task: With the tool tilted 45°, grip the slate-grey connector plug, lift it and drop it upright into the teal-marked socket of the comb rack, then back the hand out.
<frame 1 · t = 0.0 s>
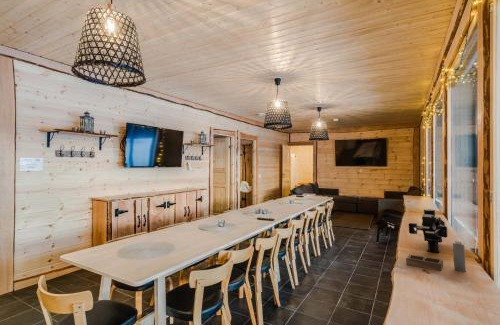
hand: (424, 232, 151), 16 cm above the table, tool horizontal, fingers open, 9 cm apart
comb rack: (424, 265, 146), on the table
slate plug: (459, 270, 138), on the table
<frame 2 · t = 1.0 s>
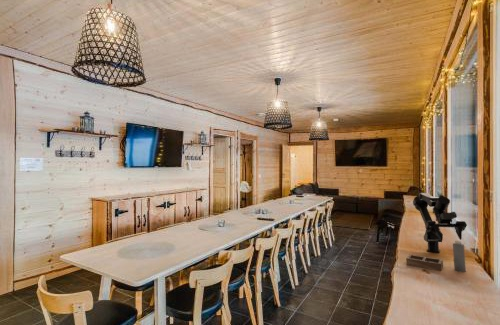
hand: (451, 239, 146), 14 cm above the table, tool tilted 45°, fingers open, 9 cm apart
nothing on the table moved.
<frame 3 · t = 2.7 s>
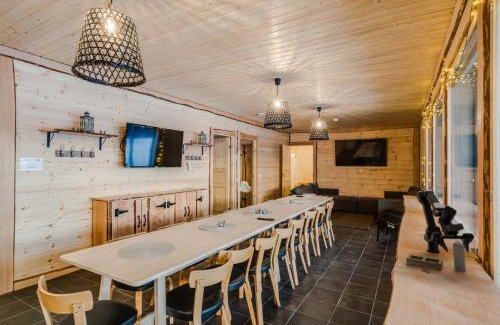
hand: (457, 252, 139), 9 cm above the table, tool tilted 45°, fingers open, 9 cm apart
nothing on the table moved.
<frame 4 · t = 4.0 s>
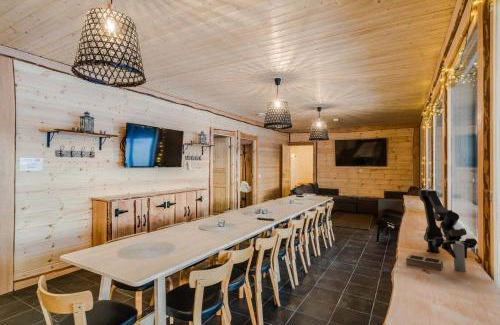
hand: (460, 257, 137), 7 cm above the table, tool tilted 45°, fingers closed on slate plug, 5 cm apart
slate plug: (460, 270, 138), on the table, touching gripper
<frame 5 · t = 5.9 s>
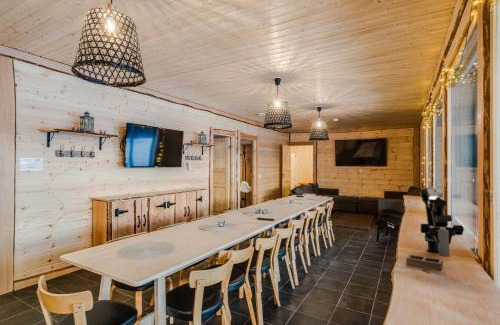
hand: (444, 243, 140), 13 cm above the table, tool tilted 45°, fingers closed on slate plug, 5 cm apart
slate plug: (444, 255, 141), point 7 cm above the table, touching gripper
when the fingers open (8 cm above the table, at t = 7.8 s): slate plug drops 2 cm, resting on comb rack.
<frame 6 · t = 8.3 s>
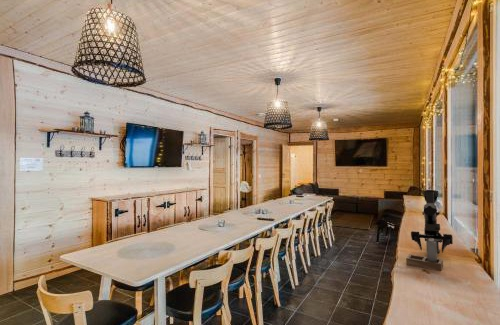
hand: (431, 251, 143), 9 cm above the table, tool tilted 45°, fingers open, 9 cm apart
slate plug: (432, 266, 144), resting on comb rack
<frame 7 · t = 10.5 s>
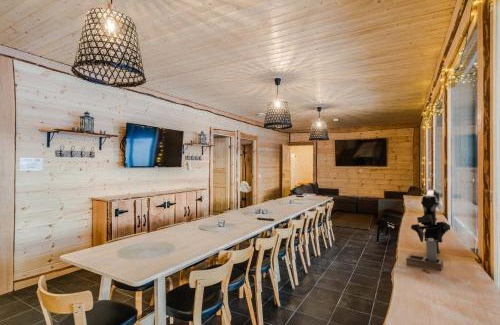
hand: (429, 241, 151), 11 cm above the table, tool tilted 35°, fingers open, 9 cm apart
nothing on the table moved.
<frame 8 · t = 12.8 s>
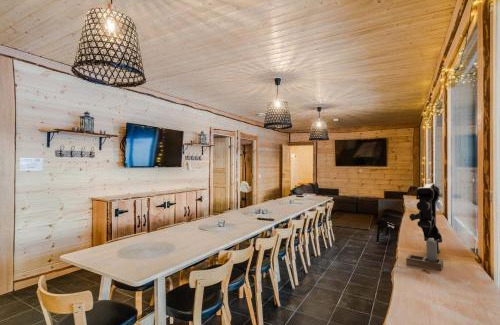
hand: (427, 236, 157), 13 cm above the table, tool pointing down, fingers open, 9 cm apart
nothing on the table moved.
at the end: slate plug 0.0 cm from the target spot on the comb rack, point 0.3 cm above the comb rack's base; slate plug tilted 1°; the gripper is holding nothing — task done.
